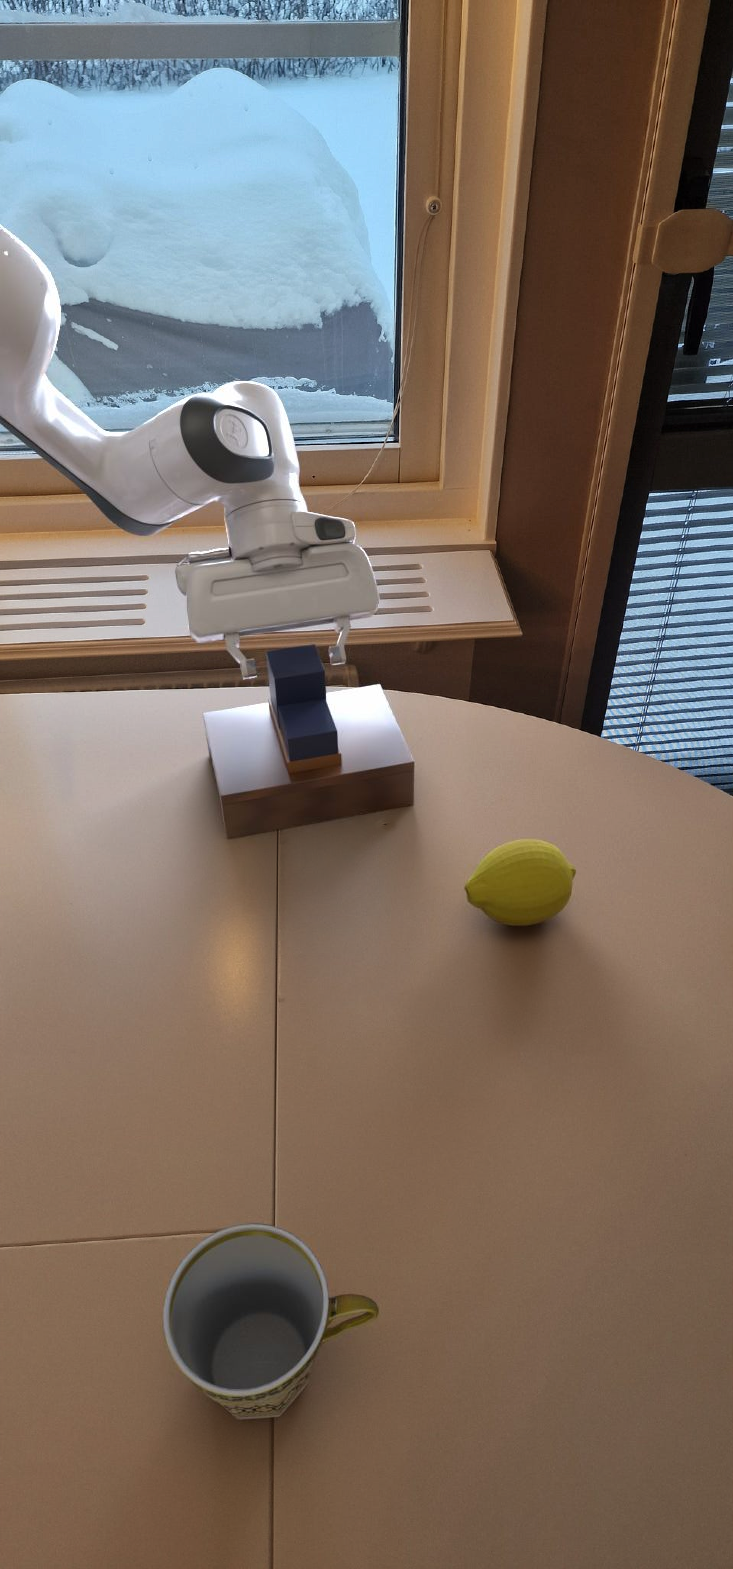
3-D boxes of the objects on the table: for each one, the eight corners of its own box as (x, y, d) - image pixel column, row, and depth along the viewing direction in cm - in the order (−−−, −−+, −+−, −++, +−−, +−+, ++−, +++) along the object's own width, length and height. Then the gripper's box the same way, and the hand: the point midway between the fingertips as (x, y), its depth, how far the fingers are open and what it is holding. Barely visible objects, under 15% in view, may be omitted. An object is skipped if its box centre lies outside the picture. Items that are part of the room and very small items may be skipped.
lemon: (560, 874, 102) (569, 815, 96) (584, 935, 96) (596, 875, 91) (452, 888, 101) (455, 829, 95) (470, 950, 95) (475, 891, 90)
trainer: (341, 764, 106) (339, 701, 100) (288, 774, 105) (282, 711, 99) (319, 701, 114) (315, 640, 108) (269, 710, 113) (263, 648, 107)
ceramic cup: (178, 1456, 65) (154, 1400, 58) (190, 1293, 72) (170, 1226, 66) (384, 1443, 65) (383, 1386, 59) (375, 1282, 73) (373, 1215, 66)
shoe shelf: (226, 839, 106) (220, 796, 102) (208, 755, 117) (202, 712, 113) (413, 804, 110) (414, 761, 106) (380, 725, 120) (380, 683, 116)
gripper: (171, 546, 104) (195, 680, 103) (368, 519, 107) (393, 649, 107) (172, 564, 110) (195, 691, 109) (359, 538, 114) (382, 661, 113)
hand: (294, 670), depth 108 cm, fingers open, 8 cm apart
